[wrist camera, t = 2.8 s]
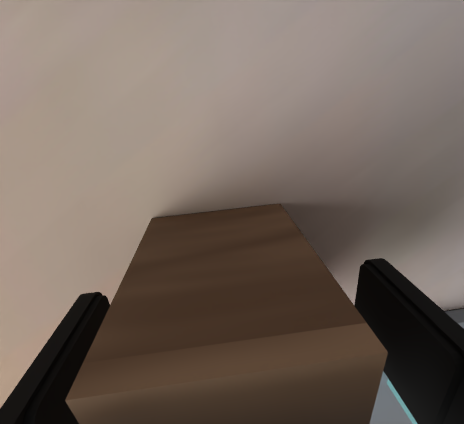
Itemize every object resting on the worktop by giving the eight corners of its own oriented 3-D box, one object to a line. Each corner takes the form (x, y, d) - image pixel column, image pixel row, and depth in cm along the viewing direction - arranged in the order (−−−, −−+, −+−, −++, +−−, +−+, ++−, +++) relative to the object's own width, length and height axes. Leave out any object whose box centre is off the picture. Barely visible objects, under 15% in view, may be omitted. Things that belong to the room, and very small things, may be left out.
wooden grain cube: (151, 218, 10) (65, 400, 4) (280, 203, 10) (387, 352, 4) (175, 314, 12) (142, 528, 6) (280, 300, 12) (351, 491, 6)
